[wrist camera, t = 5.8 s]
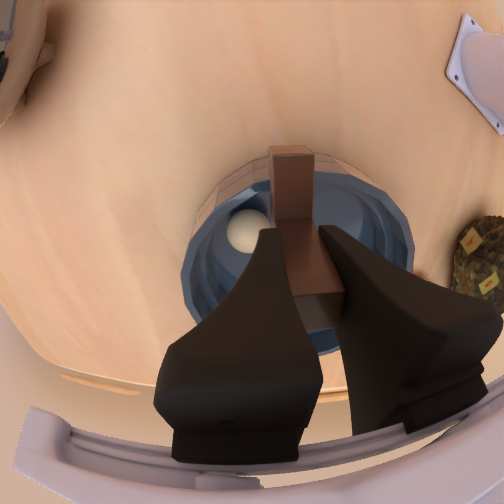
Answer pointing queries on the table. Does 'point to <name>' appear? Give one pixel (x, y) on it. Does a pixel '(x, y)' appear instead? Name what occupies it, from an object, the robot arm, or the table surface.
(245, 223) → the bead
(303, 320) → the brown t-shaped block
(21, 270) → the table surface
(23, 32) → the piggy bank
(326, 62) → the table surface
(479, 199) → the table surface
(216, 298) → the bowl
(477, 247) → the rock
